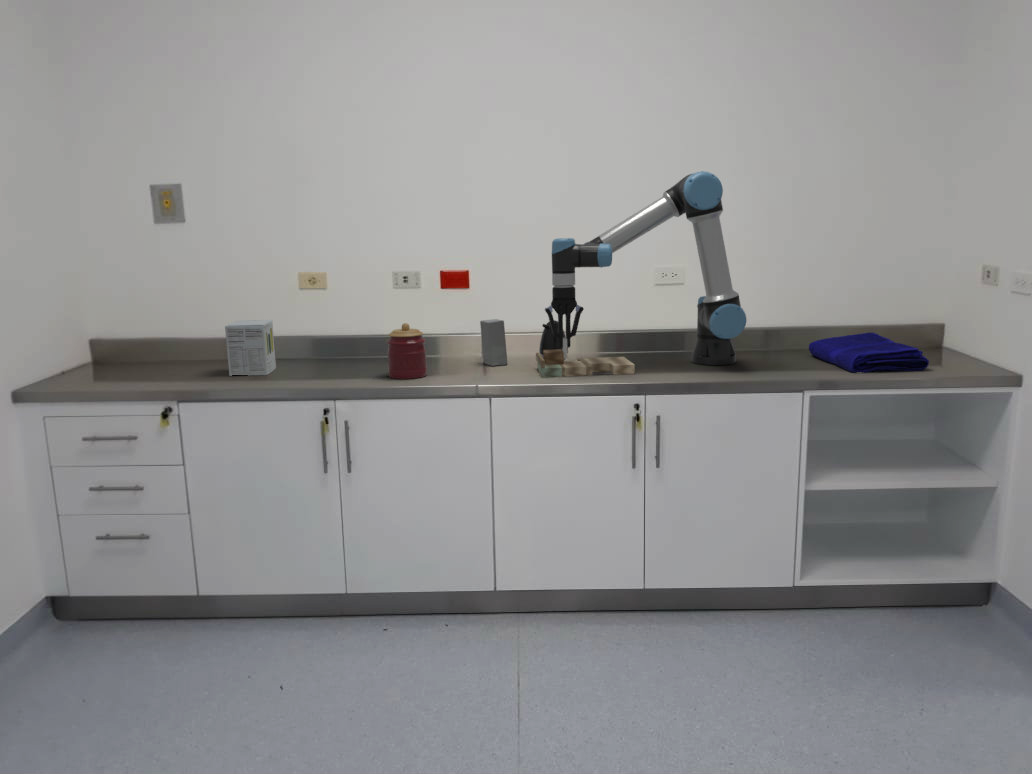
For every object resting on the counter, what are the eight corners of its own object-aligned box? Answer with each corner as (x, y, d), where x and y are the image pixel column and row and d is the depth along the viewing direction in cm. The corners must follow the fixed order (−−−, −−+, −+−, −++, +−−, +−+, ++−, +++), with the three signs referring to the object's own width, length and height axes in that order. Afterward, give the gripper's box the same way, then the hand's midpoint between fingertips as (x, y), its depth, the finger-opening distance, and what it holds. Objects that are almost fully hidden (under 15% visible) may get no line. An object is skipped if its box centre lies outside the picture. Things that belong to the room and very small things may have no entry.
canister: (429, 372, 280) (427, 320, 277) (424, 379, 268) (422, 325, 264) (391, 372, 281) (389, 321, 277) (385, 380, 268) (382, 326, 265)
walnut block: (561, 361, 278) (560, 349, 278) (563, 364, 272) (563, 352, 272) (543, 361, 278) (543, 350, 277) (545, 364, 272) (545, 352, 271)
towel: (851, 375, 262) (853, 347, 260) (804, 356, 297) (806, 332, 295) (930, 372, 264) (933, 345, 262) (875, 354, 299) (877, 330, 297)
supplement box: (268, 375, 281) (263, 324, 277) (228, 376, 280) (224, 325, 276) (277, 368, 294) (273, 319, 290) (239, 369, 293) (235, 320, 289)
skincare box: (507, 365, 290) (506, 320, 287) (488, 366, 287) (487, 321, 284) (499, 361, 298) (498, 317, 295) (480, 363, 295) (479, 319, 292)
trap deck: (623, 365, 285) (623, 349, 284) (634, 373, 269) (634, 357, 268) (536, 368, 282) (535, 352, 281) (542, 377, 267) (541, 360, 265)
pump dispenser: (533, 363, 293) (532, 320, 290) (553, 359, 300) (552, 317, 297) (553, 366, 285) (553, 322, 282) (574, 362, 293) (573, 319, 289)
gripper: (581, 284, 274) (581, 354, 278) (542, 285, 272) (543, 356, 277) (585, 286, 266) (585, 358, 271) (545, 287, 265) (546, 360, 270)
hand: (564, 357), depth 274 cm, fingers closed
